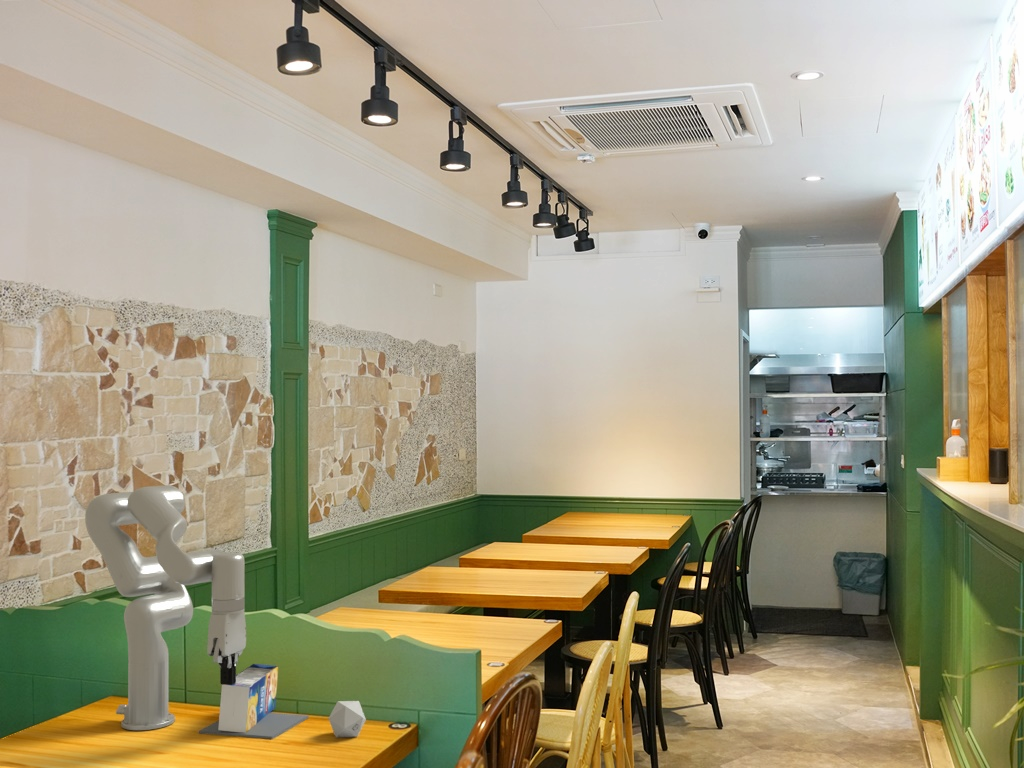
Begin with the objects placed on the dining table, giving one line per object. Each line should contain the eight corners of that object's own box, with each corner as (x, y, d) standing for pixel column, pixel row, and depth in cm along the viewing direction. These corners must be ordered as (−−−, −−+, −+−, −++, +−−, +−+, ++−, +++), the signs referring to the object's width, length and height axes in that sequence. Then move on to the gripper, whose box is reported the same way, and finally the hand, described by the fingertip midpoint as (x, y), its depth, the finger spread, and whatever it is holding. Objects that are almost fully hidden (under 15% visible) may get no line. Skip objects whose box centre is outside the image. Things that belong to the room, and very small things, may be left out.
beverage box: (221, 684, 239) (253, 663, 261) (218, 730, 239) (249, 706, 260) (249, 686, 239) (278, 665, 260) (245, 733, 238) (275, 708, 260)
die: (348, 746, 231) (371, 708, 234) (317, 726, 233) (341, 689, 236) (353, 748, 238) (375, 712, 242) (323, 729, 240) (346, 693, 244)
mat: (198, 733, 240) (198, 730, 240) (238, 712, 258) (238, 710, 258) (272, 739, 235) (272, 736, 235) (308, 717, 252) (308, 715, 252)
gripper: (231, 599, 245) (231, 675, 244) (195, 610, 230) (195, 690, 229) (258, 600, 242) (258, 677, 242) (224, 611, 228) (224, 692, 227)
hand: (228, 683), depth 235 cm, fingers closed
